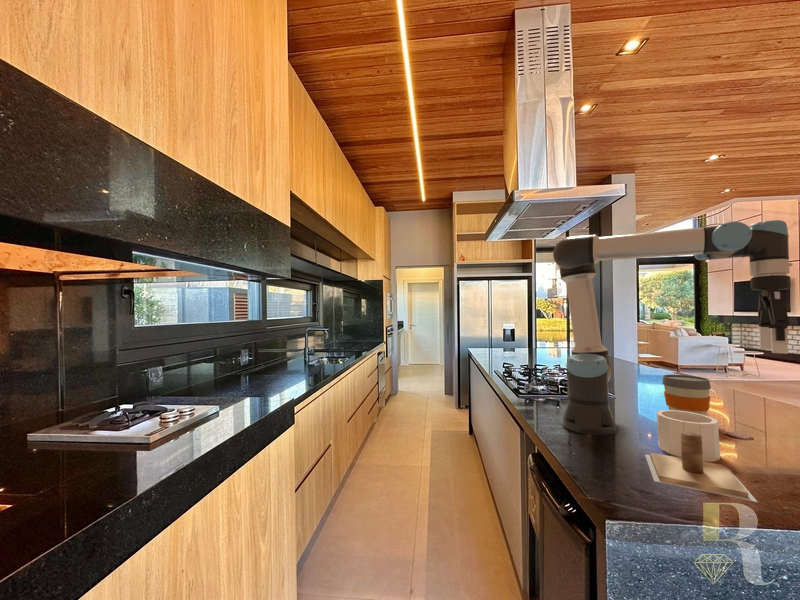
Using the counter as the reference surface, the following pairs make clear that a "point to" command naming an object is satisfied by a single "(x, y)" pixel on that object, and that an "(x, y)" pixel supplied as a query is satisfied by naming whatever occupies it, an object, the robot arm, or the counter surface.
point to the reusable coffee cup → (687, 393)
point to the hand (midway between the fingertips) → (773, 351)
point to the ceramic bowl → (682, 421)
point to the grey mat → (695, 487)
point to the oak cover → (696, 469)
